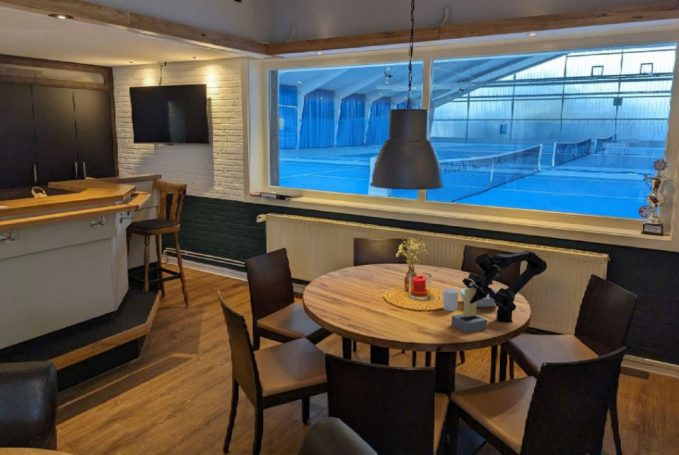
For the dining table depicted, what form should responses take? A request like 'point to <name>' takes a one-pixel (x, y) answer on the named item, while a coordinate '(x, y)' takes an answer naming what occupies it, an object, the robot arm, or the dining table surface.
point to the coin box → (469, 323)
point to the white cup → (450, 299)
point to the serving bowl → (483, 302)
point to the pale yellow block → (469, 308)
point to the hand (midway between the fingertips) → (468, 302)
